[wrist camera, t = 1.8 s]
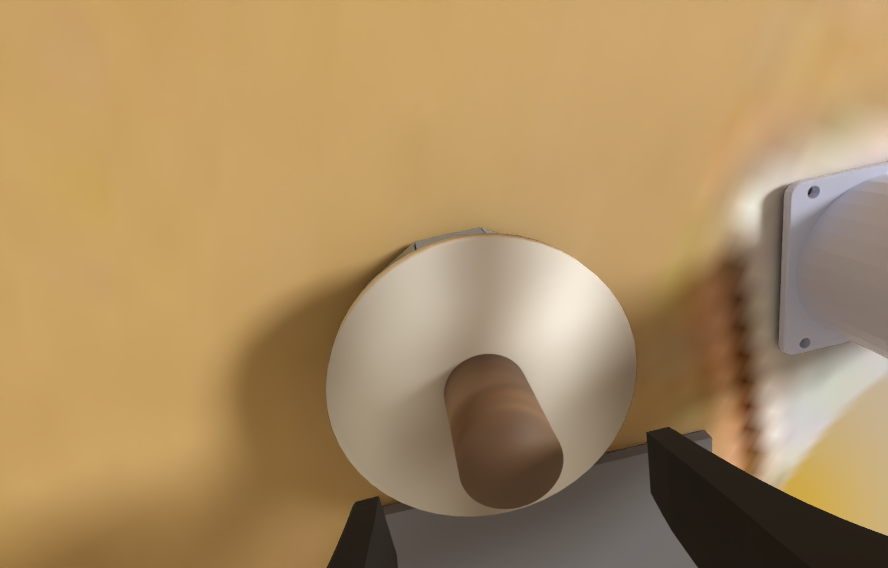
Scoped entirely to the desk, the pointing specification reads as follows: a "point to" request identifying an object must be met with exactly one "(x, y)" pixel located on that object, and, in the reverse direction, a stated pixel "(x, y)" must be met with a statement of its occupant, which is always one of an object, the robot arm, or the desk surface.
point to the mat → (553, 526)
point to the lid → (480, 375)
